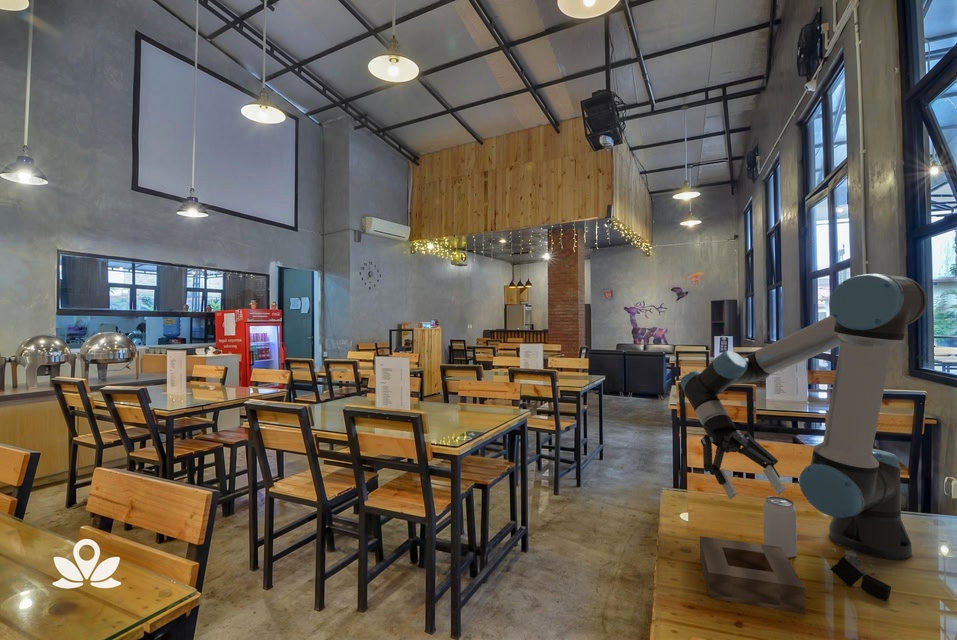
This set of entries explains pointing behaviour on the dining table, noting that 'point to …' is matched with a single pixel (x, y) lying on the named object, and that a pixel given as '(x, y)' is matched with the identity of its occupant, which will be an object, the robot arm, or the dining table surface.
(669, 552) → the dining table surface
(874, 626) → the dining table surface
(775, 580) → the socket block
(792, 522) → the can
